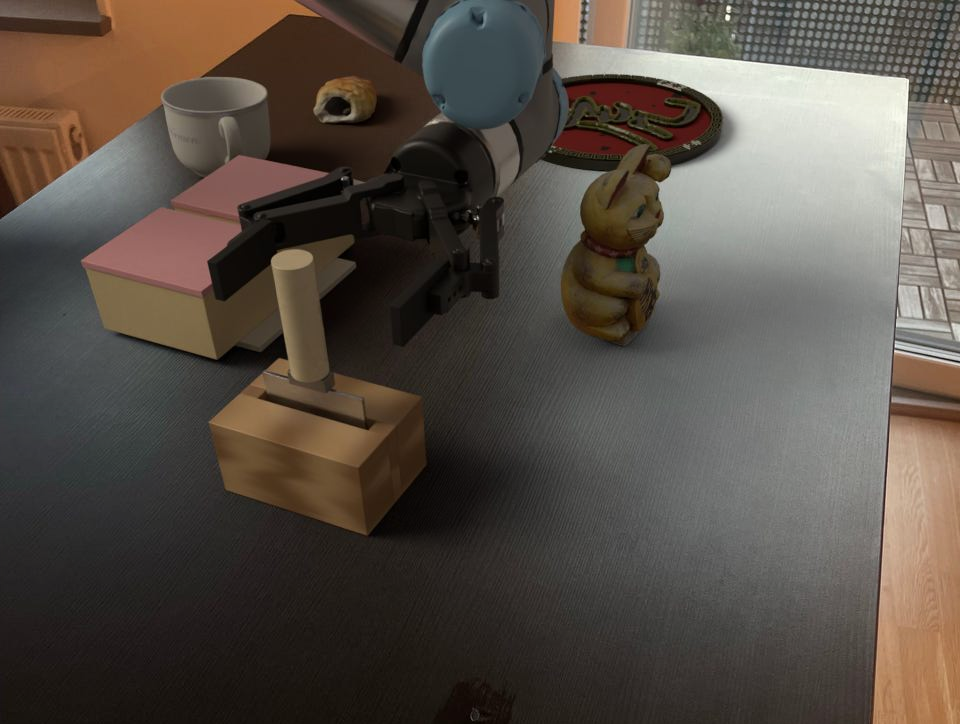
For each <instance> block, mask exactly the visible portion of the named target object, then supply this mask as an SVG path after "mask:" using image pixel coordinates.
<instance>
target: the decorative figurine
mask: <svg viewBox="0 0 960 724" xmlns="http://www.w3.org/2000/svg"><path fill="white" fill-rule="evenodd" d="M650 147H651V146H650V145H647V144H642V145H639V146H636V147H634V148H633V149H631V150H629V151H628V152H627V154H626V155H625V156H624V157H623V158H622V160H621V162H620V164H619V166H618V168H617V170H613V171H606V172H605V173H602V174H600V175H599V176H598V177H596V178H594V180H593V181H592V182H591V183H590V184H589V186H588V187H587V189H586V190H585V192H584V194H583V197H582V199H581V202H580V207H579V216H580V221H581V224H582V226H583V229H584V230H582V232H581V234H580V235H579V238H580V240H579V241H578V242H576V244H575V245H574V246H573V247H572V248H571V249H570V251H569V253H568V254H567V256H566V259H565V261H564V264H563V266H562V271H561V274H560V296H561V302H562V306H563V310H564V312H565V314H566V316H567V319H568V320H569V322H570V323H571V324H572V326H574V328H576V329H577V330H578V331H580V332H582V333H584V334H586V335H589V336H590V337H594V338H598V339H602V340H603V341H605V342H609V343H613V344H615V345H620V346H624V347H625V346H628V344H630V342H632V341H633V340H635V339H636V337H637V335H638V334H639V333H640V332H641V331H642V330H643V328H644V327H645V326H646V325H647V324H648V322H649V320H650V319H651V317H652V315H653V313H654V310H655V306H656V303H657V301H658V300H659V297H660V291H659V289H658V284H659V282H660V279H661V266H660V264H659V262H658V259H656V257H654V256H653V255H651V254H650V253H648V250H647V248H646V244H648V243H649V241H650V240H651V239H653V238H654V237H655V236H656V234H657V232H658V229H659V228H660V227H662V225H663V223H664V218H665V212H664V209H663V205H662V201H661V199H660V189H661V188H660V186H659V184H660V183H662V182H664V181H665V180H667V179H669V178H670V176H671V173H672V168H673V167H672V165H671V163H670V161H669V159H668V158H666V157H665V156H663V155H659V154H652V155H648V153H649V151H650ZM647 155H648V156H647Z"/></svg>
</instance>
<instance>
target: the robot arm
mask: <svg viewBox="0 0 960 724" xmlns="http://www.w3.org/2000/svg"><path fill="white" fill-rule="evenodd" d="M293 1H294V2H296V3H297V4H299V5H300V6H302V7H304V8H306V9H308V10H310V11H311V12H312V13H314V14H316V15H317V16H318V17H321V18H323V19H325V21H328V22H329V23H331V24H333V25H335V26H336V27H338V28H340V29H341V30H343V31H345V32H346V33H348V34H350V35H351V36H353V37H355V38H356V39H358V40H360V41H361V42H363V43H365V44H367V45H368V46H370V47H372V48H373V49H375V50H376V51H378V52H380V53H382V54H383V55H385V56H387V57H389V59H392V60H394V61H395V62H397V63H399V64H400V65H402V66H403V67H405V68H406V69H408V70H410V71H412V73H414V74H416V75H417V76H419V77H421V78H422V79H424V84H425V87H426V90H427V92H428V95H429V96H430V98H431V100H432V102H433V104H434V105H435V106H436V107H437V109H438V110H439V111H440V112H439V113H438V114H436V116H434V117H433V118H431V119H430V120H429V121H427V122H426V124H424V126H422V128H420V129H419V130H418V131H417V132H415V133H414V134H413V135H411V136H410V137H409V138H408V139H406V140H405V141H403V142H402V143H401V144H400V145H399V146H398V147H397V148H396V150H395V151H394V152H393V154H392V156H391V158H390V160H389V162H388V164H387V167H386V169H385V170H384V172H383V174H381V175H379V176H375V177H372V178H369V179H368V180H367V181H366V182H365V181H362V180H358V179H355V178H354V175H353V174H354V172H353V168H352V167H350V166H345V165H344V166H339V167H337V168H335V169H334V170H333V171H330V172H328V173H329V174H327V175H326V176H324V177H321V178H318V179H315V180H312V181H309V182H306V183H303V184H300V185H297V186H294V187H291V188H288V189H285V190H282V191H279V192H276V193H273V194H270V195H267V196H264V197H260V198H257V199H254V200H251V201H248V202H245V203H242V204H240V205H238V206H237V209H238V214H239V220H240V225H241V230H242V231H241V232H240V233H239V234H237V235H236V236H235V237H234V238H232V239H231V240H229V241H228V243H227V246H226V247H225V248H224V249H222V250H221V251H220V252H218V253H217V254H216V255H215V256H213V257H212V258H211V259H209V260H208V261H207V263H208V268H209V272H210V277H211V281H212V286H213V290H214V295H215V299H216V300H220V301H224V302H225V301H226V300H227V299H229V298H230V297H231V296H232V295H234V294H235V293H236V292H237V291H238V290H240V289H241V288H242V287H243V286H245V285H246V284H247V283H248V282H250V281H251V280H252V279H253V278H254V277H256V276H257V275H258V274H259V273H261V272H262V271H263V270H264V269H266V268H267V267H268V266H269V265H271V260H272V258H273V256H275V255H276V254H277V250H281V249H286V248H291V247H295V246H300V245H304V244H309V243H313V242H318V241H323V240H327V239H332V238H336V237H341V236H345V235H353V236H354V239H357V240H363V239H368V238H371V237H375V236H381V235H382V236H388V237H397V238H400V239H402V240H404V241H409V242H415V241H416V240H417V241H418V240H421V241H423V243H424V244H425V245H426V247H427V249H428V252H429V254H430V256H434V258H435V261H433V262H432V263H431V264H430V265H429V266H428V267H427V268H426V269H425V270H424V271H423V272H422V273H421V274H420V275H419V276H417V278H416V279H414V281H412V283H410V284H409V286H407V288H405V290H403V291H402V292H401V294H399V295H398V296H397V297H396V298H395V299H394V300H393V301H392V302H391V303H390V304H389V313H390V325H391V335H392V344H393V345H395V346H398V347H402V348H405V346H406V345H407V344H408V343H409V342H410V341H411V340H412V339H413V338H414V337H415V336H416V334H418V333H419V332H420V330H421V329H423V328H424V326H426V325H427V323H428V322H429V321H430V320H431V319H432V318H433V317H434V316H435V315H438V316H443V315H445V314H447V313H448V312H449V311H451V309H452V308H453V307H454V306H455V305H456V304H457V303H458V302H459V301H460V300H461V299H464V298H468V297H470V296H471V294H472V293H480V294H481V297H482V298H483V299H485V300H486V299H487V300H494V299H497V298H498V297H499V296H500V250H499V248H500V247H499V243H500V241H501V240H502V238H503V237H504V235H505V199H504V198H503V197H501V196H502V195H503V194H504V193H505V192H507V190H509V188H510V187H511V186H512V185H513V184H514V183H515V182H516V181H517V180H518V179H519V178H520V177H522V176H524V174H525V173H526V172H528V170H529V169H531V167H533V166H534V165H535V164H537V163H538V162H539V161H541V160H542V158H543V157H544V156H545V155H546V154H547V153H548V152H549V150H550V148H551V146H552V145H553V143H554V142H555V141H556V139H557V138H558V137H559V135H560V134H561V132H562V131H563V129H564V127H565V124H566V121H567V117H568V110H569V102H568V96H567V92H566V90H565V87H564V85H563V82H562V77H561V75H560V74H559V73H558V71H557V70H556V69H555V68H554V54H553V44H554V43H553V42H554V25H555V24H554V23H555V22H554V21H555V4H556V0H293ZM361 201H362V202H364V207H365V211H366V215H367V220H368V222H363V219H362V217H363V216H362V209H361ZM471 226H472V230H473V231H474V232H476V239H477V240H479V262H471V249H470V246H469V247H468V246H467V248H466V247H465V245H463V242H462V241H461V238H460V237H459V236H460V235H463V233H465V231H467V230H468V229H469V228H470V227H471Z"/></svg>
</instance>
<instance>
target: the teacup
mask: <svg viewBox="0 0 960 724" xmlns="http://www.w3.org/2000/svg"><path fill="white" fill-rule="evenodd" d="M160 94H161V95H160V100H161V103H162V104H163V109H164V114H165V120H166V126H167V130H168V135H169V140H170V143H171V146H172V149H173V152H174V154H175V156H176V158H177V159H178V160H179V162H180V163H182V164H183V165H184V166H185V167H187V169H190V170H192V172H193V173H194V174H196V175H198V176H199V177H201V178H203V179H204V178H205V177H207V176H208V175H210V174H211V173H213V172H214V171H216V170H217V169H219V168H220V167H222V166H223V165H225V164H226V163H228V162H229V161H231V160H232V159H234V158H235V157H237V156H238V155H242V156H247V157H252V158H257V159H261V160H266V159H267V158H268V155H269V153H270V150H271V149H270V148H271V125H270V113H269V105H268V104H269V103H268V97H269V93H268V89H267V88H266V87H265V86H264V85H262V84H261V83H258V82H255V81H254V80H249V79H245V78H241V77H240V78H239V77H231V76H205V77H196V78H191V79H187V80H183V81H180V82H177V83H174V84H172V85H170V86H168V87H167V88H165V89H164V90H163V91H162V93H160Z"/></svg>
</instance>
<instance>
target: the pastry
mask: <svg viewBox="0 0 960 724" xmlns="http://www.w3.org/2000/svg"><path fill="white" fill-rule="evenodd" d="M377 95H378V94H377V89H376V86H375V85H374V82H373V81H372V80H370V79H366V78H361V77H359V76H356V75H351V76H344V77H340V78H334V79H331V80H328V81H326V82H325V84H324V85H323V86H321V87H320V88H319V90H318V92H317V94H316V102H315V106H314V107H313V114H314V115H315V117H316V118H317V119H318V120H319V122H320V123H322V124H333V125H334V124H340V123H347V124H355V123H361V122H362V123H363V122H365V121H366V120H368V119H370V118H371V117H372V115H373V114H374V113H375V111H376V110H375V109H376V106H377V102H378V99H377V97H378V96H377Z"/></svg>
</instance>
